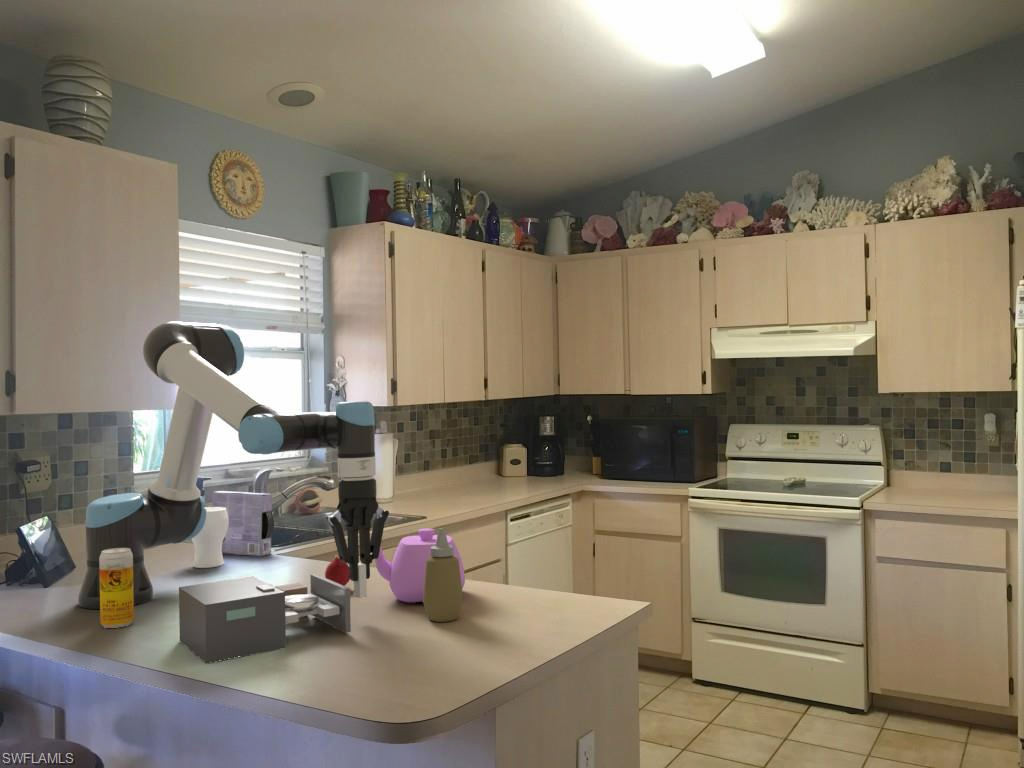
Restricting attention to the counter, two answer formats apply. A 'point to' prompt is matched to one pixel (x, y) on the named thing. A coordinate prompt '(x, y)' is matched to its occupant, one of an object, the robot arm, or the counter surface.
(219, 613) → the box
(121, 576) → the beer can
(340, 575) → the onion
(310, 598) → the disc
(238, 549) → the cake pan box
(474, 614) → the counter surface
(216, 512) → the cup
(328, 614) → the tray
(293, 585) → the brown wooden block
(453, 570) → the squeeze bottle
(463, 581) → the teapot
